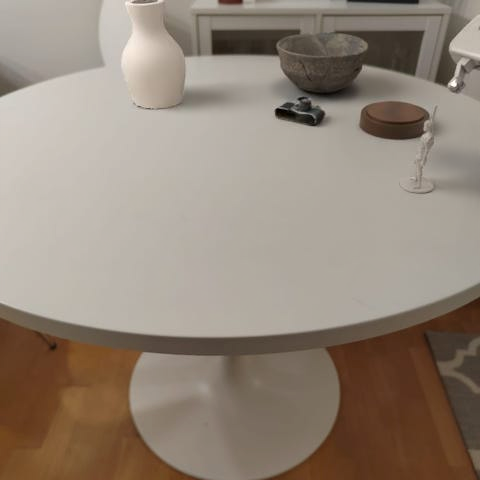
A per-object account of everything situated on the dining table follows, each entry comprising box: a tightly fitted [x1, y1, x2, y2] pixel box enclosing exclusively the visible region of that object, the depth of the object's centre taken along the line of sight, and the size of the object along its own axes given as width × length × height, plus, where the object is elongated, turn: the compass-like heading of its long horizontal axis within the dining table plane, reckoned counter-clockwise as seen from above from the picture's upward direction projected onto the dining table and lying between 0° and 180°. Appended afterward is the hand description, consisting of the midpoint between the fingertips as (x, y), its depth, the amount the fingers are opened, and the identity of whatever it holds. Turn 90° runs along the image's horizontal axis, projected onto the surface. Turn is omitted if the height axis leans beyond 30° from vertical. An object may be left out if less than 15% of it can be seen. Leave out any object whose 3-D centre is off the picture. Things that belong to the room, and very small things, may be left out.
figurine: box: [399, 104, 438, 194], centre depth 69 cm, size 5×5×12 cm
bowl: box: [275, 31, 369, 94], centre depth 106 cm, size 21×21×10 cm
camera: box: [274, 95, 326, 126], centre depth 94 cm, size 5×10×4 cm, turn 53°
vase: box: [120, 0, 187, 110], centre depth 100 cm, size 14×14×20 cm
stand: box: [358, 100, 431, 140], centre depth 90 cm, size 13×13×3 cm
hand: (476, 99), depth 67 cm, fingers open, 8 cm apart
